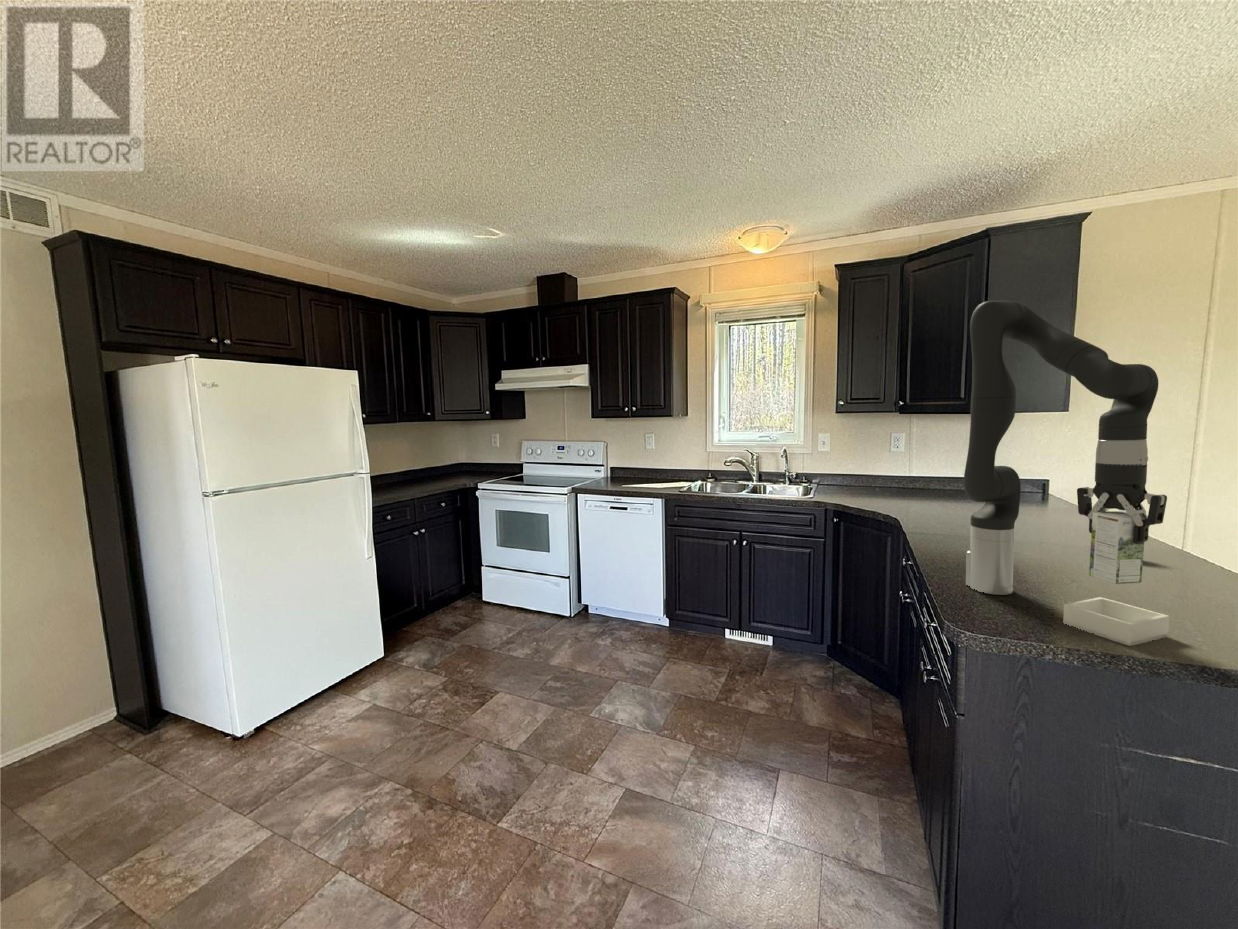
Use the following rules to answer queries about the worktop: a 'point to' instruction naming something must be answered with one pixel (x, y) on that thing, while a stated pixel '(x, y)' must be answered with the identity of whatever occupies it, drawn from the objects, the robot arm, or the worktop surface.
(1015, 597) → the worktop surface
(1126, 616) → the bin
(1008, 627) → the worktop surface
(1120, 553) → the syrup box
